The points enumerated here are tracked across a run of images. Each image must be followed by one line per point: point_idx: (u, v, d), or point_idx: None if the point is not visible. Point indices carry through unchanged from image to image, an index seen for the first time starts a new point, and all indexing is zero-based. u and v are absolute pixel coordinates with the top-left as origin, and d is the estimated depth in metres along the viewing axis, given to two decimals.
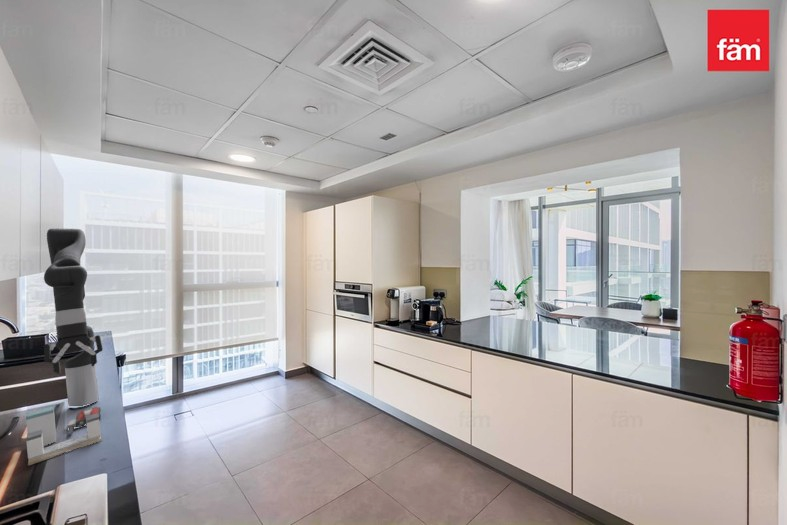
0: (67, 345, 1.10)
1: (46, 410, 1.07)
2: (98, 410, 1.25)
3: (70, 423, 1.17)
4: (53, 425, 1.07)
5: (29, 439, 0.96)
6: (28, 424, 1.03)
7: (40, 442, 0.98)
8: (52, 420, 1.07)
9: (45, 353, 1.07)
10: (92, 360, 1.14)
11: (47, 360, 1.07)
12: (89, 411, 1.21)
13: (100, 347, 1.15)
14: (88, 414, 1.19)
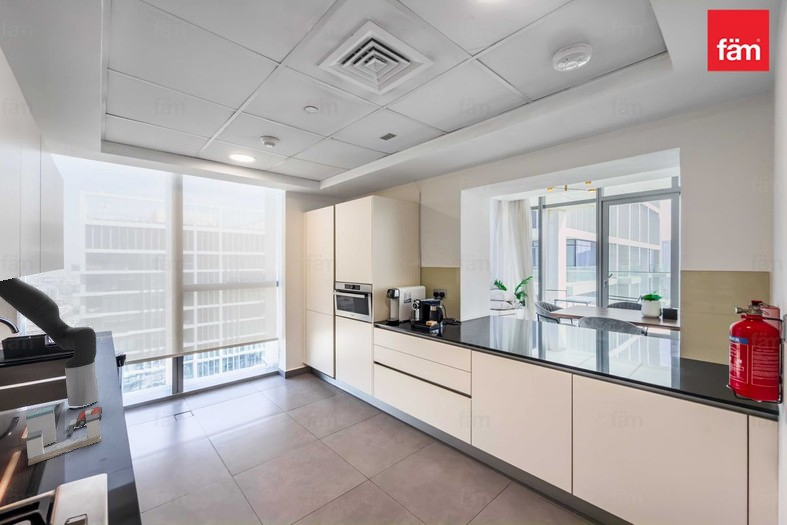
0: None
1: (46, 410, 1.07)
2: (99, 410, 1.25)
3: (71, 423, 1.17)
4: (53, 425, 1.07)
5: (29, 439, 0.96)
6: (28, 424, 1.03)
7: (40, 442, 0.98)
8: (52, 420, 1.07)
9: None
10: None
11: None
12: (90, 411, 1.21)
13: None
14: (89, 414, 1.19)
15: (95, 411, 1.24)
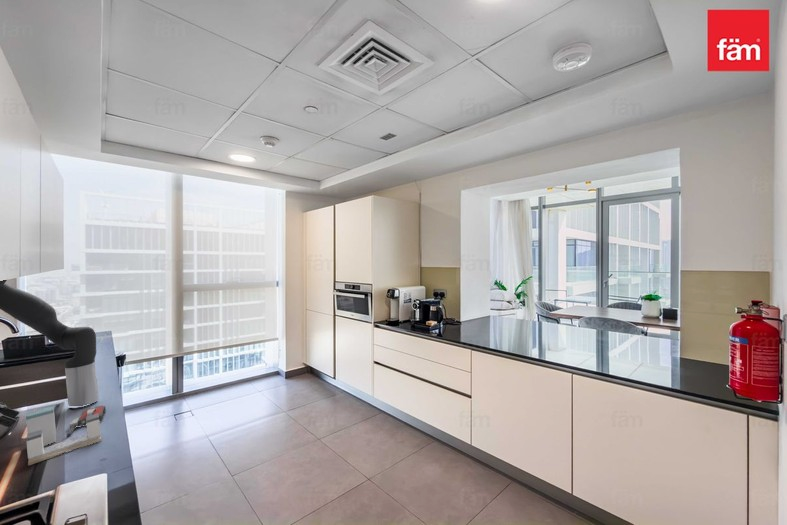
0: None
1: (46, 410, 1.07)
2: (102, 409, 1.26)
3: (73, 422, 1.17)
4: (53, 425, 1.07)
5: (29, 439, 0.96)
6: (28, 424, 1.03)
7: (40, 442, 0.98)
8: (52, 420, 1.07)
9: None
10: None
11: None
12: (92, 410, 1.21)
13: None
14: (90, 413, 1.20)
15: (98, 410, 1.24)
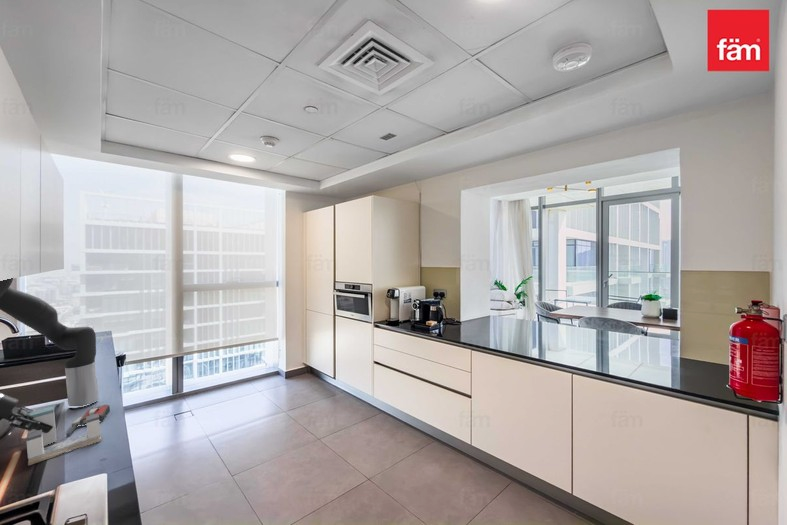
0: None
1: (46, 410, 1.07)
2: (105, 408, 1.26)
3: (75, 421, 1.18)
4: (53, 425, 1.07)
5: (29, 439, 0.96)
6: (28, 424, 1.03)
7: (40, 442, 0.98)
8: (52, 419, 1.07)
9: None
10: None
11: None
12: (94, 410, 1.22)
13: None
14: (92, 413, 1.20)
15: (101, 410, 1.25)
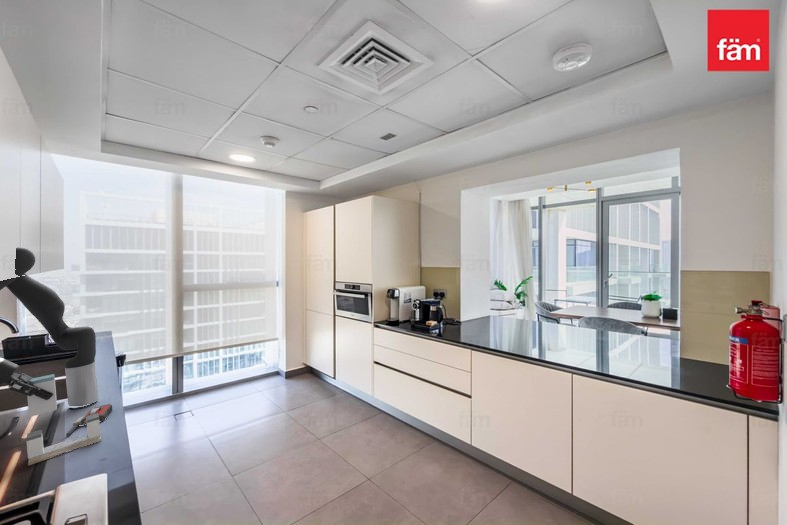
0: None
1: (47, 377, 1.05)
2: (107, 408, 1.26)
3: (77, 420, 1.19)
4: (54, 392, 1.06)
5: (29, 439, 0.96)
6: (28, 390, 1.02)
7: (40, 442, 0.98)
8: (52, 387, 1.05)
9: None
10: None
11: None
12: (96, 409, 1.22)
13: None
14: (93, 413, 1.20)
15: (102, 409, 1.25)
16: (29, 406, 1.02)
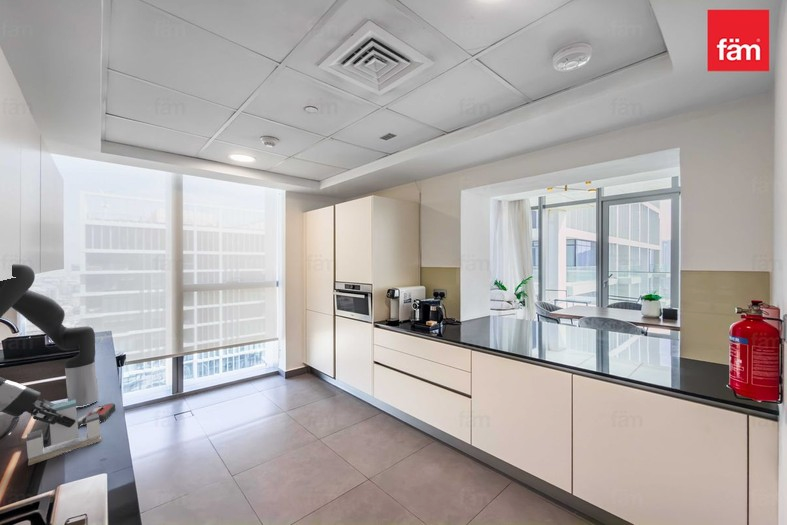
0: None
1: (68, 403, 1.03)
2: (109, 408, 1.27)
3: (79, 419, 1.19)
4: (76, 419, 1.03)
5: (29, 439, 0.96)
6: (51, 418, 0.99)
7: (40, 442, 0.98)
8: (75, 413, 1.03)
9: None
10: None
11: None
12: (97, 409, 1.22)
13: None
14: (94, 412, 1.21)
15: (104, 409, 1.25)
16: (51, 434, 0.99)
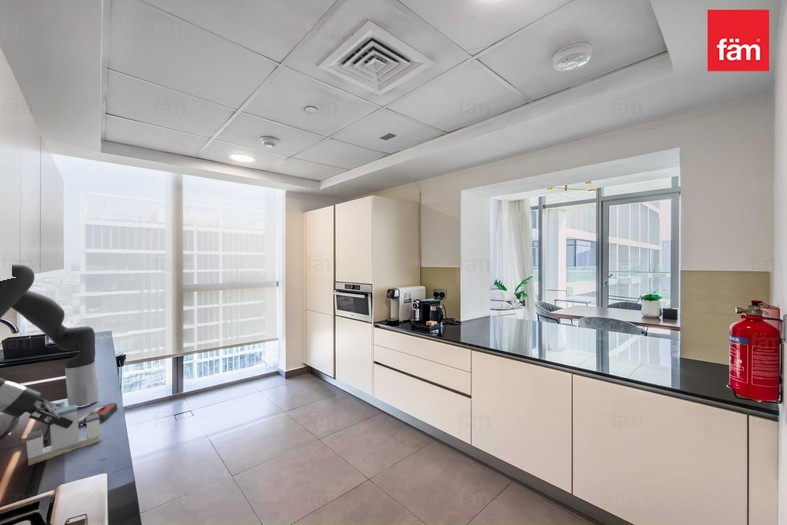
0: None
1: (69, 408, 1.03)
2: (111, 407, 1.27)
3: (80, 419, 1.20)
4: (76, 424, 1.03)
5: (29, 439, 0.96)
6: None
7: (40, 442, 0.98)
8: (75, 418, 1.03)
9: None
10: None
11: None
12: (99, 408, 1.23)
13: None
14: (96, 412, 1.21)
15: (106, 408, 1.25)
16: (52, 439, 0.99)
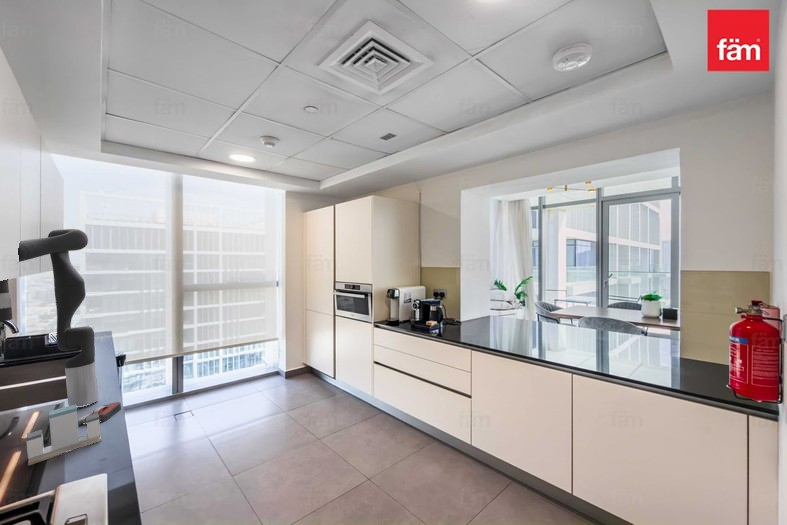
0: None
1: (69, 408, 1.03)
2: (113, 407, 1.27)
3: (82, 417, 1.20)
4: (76, 424, 1.03)
5: (29, 439, 0.96)
6: (51, 423, 0.99)
7: (40, 442, 0.98)
8: (75, 418, 1.03)
9: None
10: None
11: None
12: (100, 408, 1.23)
13: None
14: (97, 411, 1.21)
15: (108, 408, 1.26)
16: (52, 439, 0.99)
